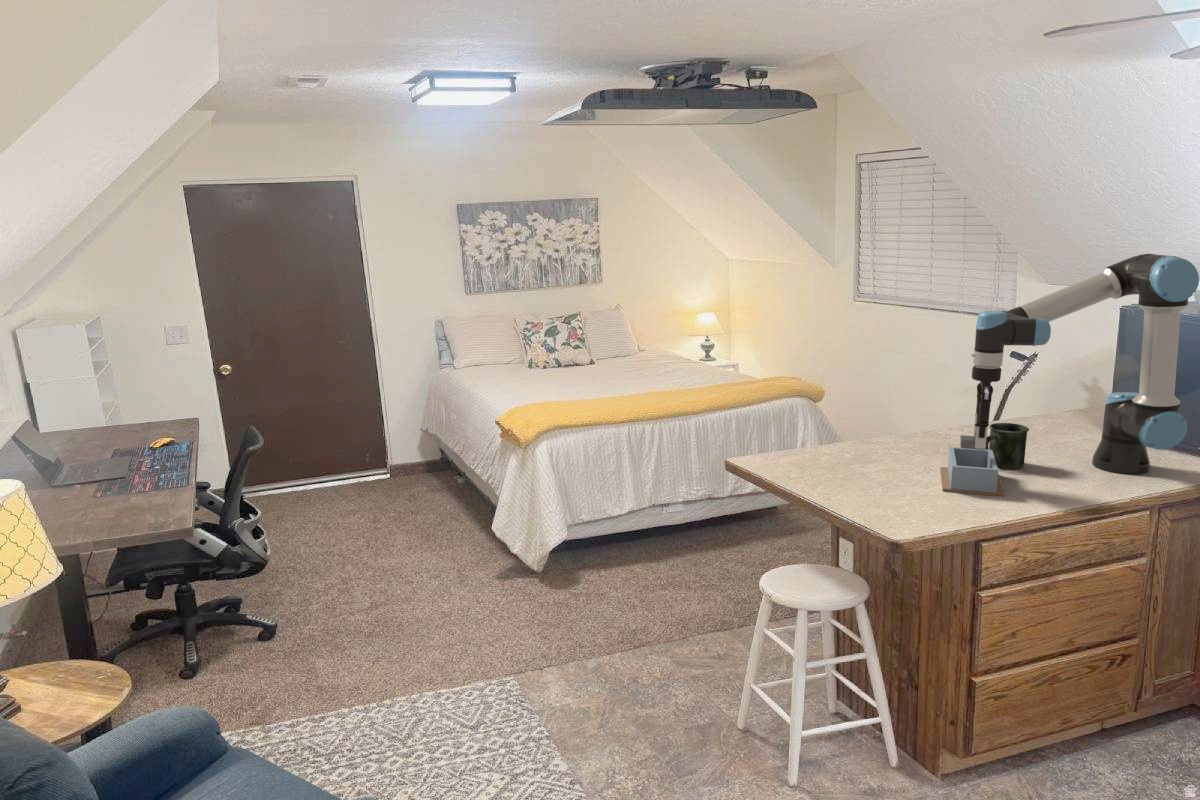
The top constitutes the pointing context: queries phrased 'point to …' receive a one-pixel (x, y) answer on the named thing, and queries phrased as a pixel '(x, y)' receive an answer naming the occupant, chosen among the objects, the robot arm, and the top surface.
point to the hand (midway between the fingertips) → (979, 445)
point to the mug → (1008, 444)
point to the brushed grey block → (970, 437)
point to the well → (971, 472)
